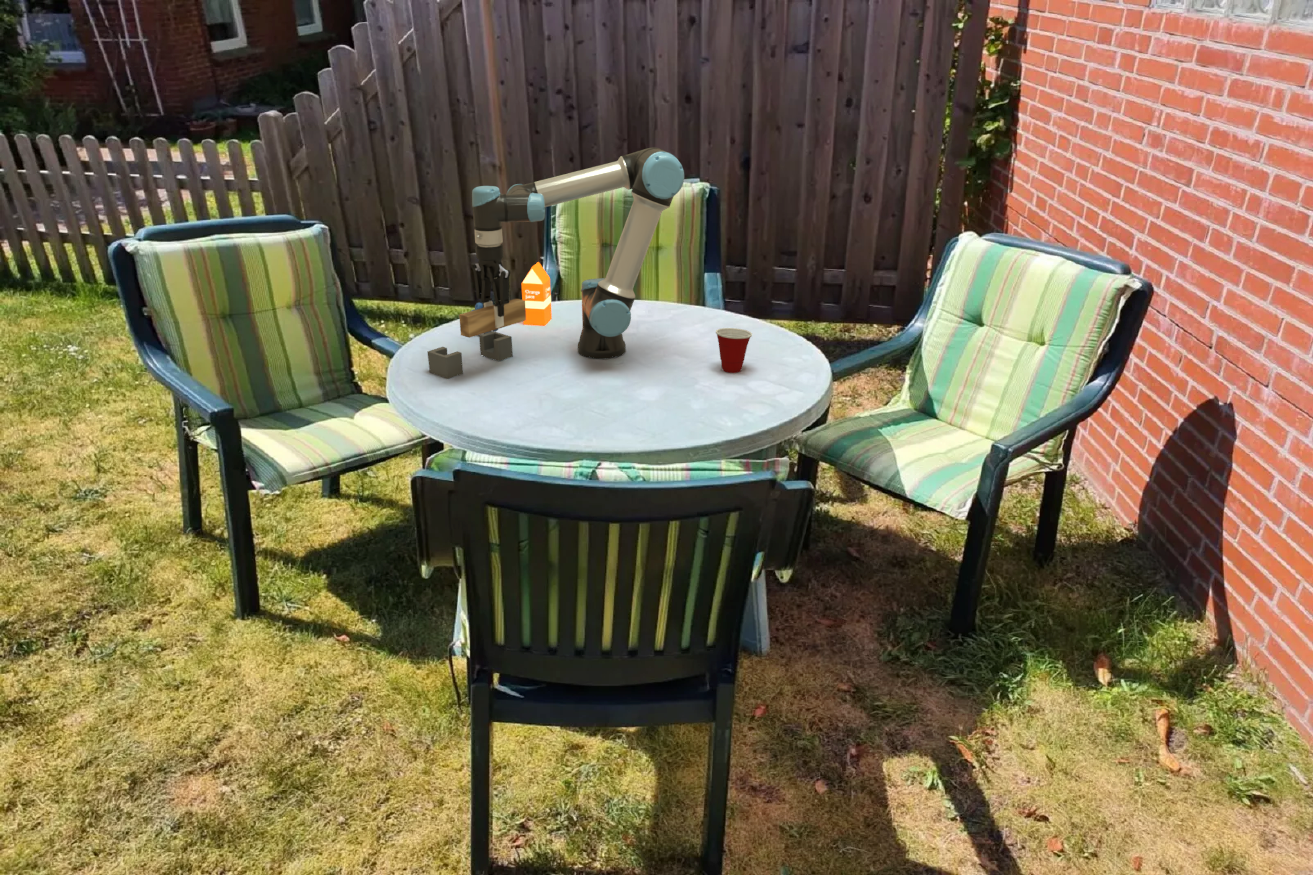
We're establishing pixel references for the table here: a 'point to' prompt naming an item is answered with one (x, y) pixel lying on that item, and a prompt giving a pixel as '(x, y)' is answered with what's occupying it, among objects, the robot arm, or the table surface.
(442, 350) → the end caps
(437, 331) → the table surface
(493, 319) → the slat
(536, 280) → the orange juice
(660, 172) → the robot arm
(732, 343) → the plastic cup
